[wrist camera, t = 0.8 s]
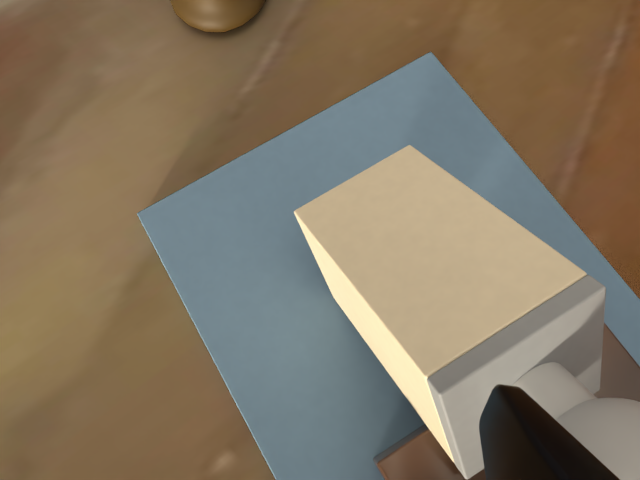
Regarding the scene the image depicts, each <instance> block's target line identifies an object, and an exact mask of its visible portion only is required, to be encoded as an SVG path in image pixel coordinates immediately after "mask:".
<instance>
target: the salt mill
mask: <svg viewBox="0 0 640 480" xmlns="http://www.w3.org/2000/svg"><path fill="white" fill-rule="evenodd" d="M294 214H295V216H296V218H297V220H298V223H299V225H300V227H301V229H302V231H303V233H304V235H305V238H306V240H307V242H308V244H309V246H310V248H311V250H312V253H313V255H314V257H315V259H316V261H317V263H318V265H319V268H320V270H321V272H322V274H323V276H324V278H325V281H326V283H327V285H328V287H329V289H330V291H331V293H332V296H333V298H334V299H335V300H336V302H337V303H338V305H339V306H340V307H341V309H342V310H343V311H344V313H345V314H346V316H347V317H348V318H349V320H350V321H351V322H352V324H353V325H354V327H355V328H356V329H357V331H358V332H359V333H360V335H361V336H362V338H363V339H364V340H365V342H366V343H367V344H368V346H369V347H370V349H371V350H372V351H373V353H374V354H375V355H376V357H377V358H378V360H379V361H380V362H381V364H382V365H383V366H384V368H385V369H386V371H387V372H388V373H389V375H390V376H391V377H392V379H393V380H394V382H395V383H396V384H397V386H398V387H399V388H400V390H401V391H402V393H403V394H404V395H405V397H406V398H407V399H408V401H409V402H410V404H411V405H412V406H413V408H414V409H415V410H416V412H417V413H418V415H419V416H420V417H421V419H422V420H423V421H424V423H425V424H426V426H427V427H428V428H429V430H430V431H431V432H432V434H433V435H434V437H435V438H436V439H437V441H438V442H439V443H440V445H441V446H442V448H443V449H444V450H445V452H446V453H447V454H448V456H449V457H450V459H451V460H452V461H453V462H454V463H455V465H456V467H457V468H458V470H459V471H460V472H461V474H462V475H463V476H464V478H465V479H469V478H471V477H472V476H474V475H475V474H477V473H478V472H480V471H481V470H483V469H484V462H483V454H482V447H481V440H480V433H479V421H480V417H481V414H482V412H483V409H484V407H485V405H486V403H487V400H488V398H489V396H490V394H491V391H492V389H493V388H494V387H495V386H496V385H498V384H504V385H511V386H517V387H520V388H522V389H523V390H524V391H525V392H526V393H527V394H528V395H529V396H530V397H532V398H533V399H534V400H535V401H536V402H537V403H538V404H539V405H540V406H541V407H542V408H543V409H545V410H546V411H547V412H548V413H549V414H550V415H551V416H552V417H553V418H554V419H555V420H556V421H557V422H559V423H560V424H561V425H562V426H563V427H564V428H565V429H566V430H567V431H568V432H569V433H570V434H572V435H573V436H574V437H575V438H576V439H577V440H578V441H579V442H580V443H581V444H582V445H583V446H584V447H586V448H587V449H588V450H589V451H590V452H591V453H592V454H593V455H594V456H595V457H596V458H597V459H599V460H600V461H601V462H602V463H603V464H604V465H605V466H606V467H607V468H608V469H609V470H610V471H611V472H613V473H614V474H615V475H616V476H617V477H618V478H619V479H620V480H640V402H638V401H635V400H630V399H624V398H597V397H595V396H594V395H593V394H594V393H596V392H597V391H599V389H600V378H601V362H602V346H603V330H604V314H605V298H606V287H605V286H604V285H603V284H601V283H600V282H599V281H597V280H596V279H594V278H593V277H592V276H590V275H587V273H586V272H585V271H583V270H582V269H581V268H579V267H578V266H576V265H575V264H574V263H572V262H571V261H570V260H568V259H567V258H565V257H564V256H563V255H561V254H560V253H559V252H557V251H556V250H554V249H553V248H552V247H550V246H549V245H548V244H546V243H545V242H543V241H542V240H541V239H539V238H538V237H536V236H535V235H534V234H532V233H531V232H530V231H528V230H527V229H525V228H524V227H523V226H521V225H520V224H519V223H517V222H516V221H514V220H513V219H512V218H510V217H509V216H507V215H506V214H505V213H503V212H502V211H501V210H499V209H498V208H496V207H495V206H494V205H492V204H491V203H490V202H488V201H487V200H485V199H484V198H483V197H481V196H480V195H478V194H477V193H476V192H474V191H473V190H472V189H470V188H469V187H467V186H466V185H465V184H463V183H462V182H461V181H459V180H458V179H456V178H455V177H454V176H452V175H451V174H450V173H448V172H447V171H445V170H444V169H443V168H441V167H440V166H438V165H437V164H436V163H434V162H433V161H432V160H430V159H429V158H427V157H426V156H425V155H423V154H422V153H421V152H419V151H418V150H416V149H415V148H414V147H412V146H411V145H408V146H406V147H404V148H403V149H401V150H399V151H397V152H396V153H394V154H392V155H390V156H389V157H387V158H385V159H383V160H382V161H380V162H378V163H377V164H375V165H373V166H371V167H370V168H368V169H366V170H364V171H363V172H361V173H359V174H357V175H356V176H354V177H352V178H350V179H349V180H347V181H345V182H343V183H342V184H340V185H338V186H336V187H335V188H333V189H331V190H329V191H328V192H326V193H324V194H322V195H321V196H319V197H317V198H315V199H314V200H312V201H310V202H309V203H307V204H305V205H303V206H302V207H300V208H298V209H296V210H295V211H294Z"/></svg>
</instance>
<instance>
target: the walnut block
mask: <svg viewBox="0 0 640 480" xmlns="http://www.w3.org/2000/svg"><path fill="white" fill-rule="evenodd" d="M593 395H594V396H595V397H597V398H624V399H630V400H635V401H638V402H640V366H639V365H638V364H637V362H636V361H635V360H634V359H633V358H632V356H631V355H630V354H629V353H628V351H627V350H626V349H625V348H624V346H623V345H622V344H621V343H620V341H619V340H618V339H617V338H616V336H615V335H614V334H613V333H612V331H611V330H610V329H609V328H608V326H607V325H606V324H605V323H604V330H603V346H602V362H601V378H600V389H599V391H597V392H596V393H594V394H593ZM373 461H374V463H375V465H376V466H377V468H378V470H379V471H380V473H381V475H382V476H383V478H384V480H486V476H485V469H483V470H481V471H480V472H478V473H477V474H475V475H474V476H472V477H471V478H469V479H465V478H464V476H463V475H462V474H461V472H460V471H459V470H458V468H457V467H456V465H455V463H454V462H453V461H452V460H451V459H450V457H449V456H448V454H447V453H446V452H445V450H444V449H443V448H442V446H441V445H440V443H439V442H438V441H437V439H436V438H435V437H434V435H433V434H432V432H431V431H430V430H429V428H428V427H427V426H426V424H424V425H422V426H421V427H419V428H418V429H416V430H415V431H413V432H412V433H410V434H409V435H407V436H406V437H404V438H403V439H401V440H400V441H398V442H396V443H395V444H393V445H392V446H390V447H389V448H387V449H386V450H384V451H383V452H381V453H380V454H378V455H377V456H375V457H374V458H373Z"/></svg>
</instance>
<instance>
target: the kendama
mask: <svg viewBox="0 0 640 480" xmlns="http://www.w3.org/2000/svg"><path fill="white" fill-rule="evenodd" d="M170 1H171V4H172V6H173V9H174V11H175V13H176V15H178V16H179V17H180V18H181V19H182V20H183V21H184V22H185V23H187V24H188V25H189V26H192V27H194V28H197V29H200V30H202V31H205V32H226V31H229V30H231V29H234V28H237V27H239V26H242V25H243V24H245V23H246V22H247V21H248V20H250V19H251V18H252V17H253V16H255V15H256V14H257V13H258V12H259V10H260V9H261V7H262V6H263V4H264V3H265V1H266V0H170Z"/></svg>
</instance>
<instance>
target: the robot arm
mask: <svg viewBox="0 0 640 480" xmlns="http://www.w3.org/2000/svg"><path fill="white" fill-rule="evenodd" d="M479 433H480V440H481V447H482V454H483V462H484V469H485V476H486V480H620V479H619V478H618V477H617V476H616V475H615V474H614V473H613V472H611V471H610V470H609V469H608V468H607V467H606V466H605V465H604V464H603V463H602V462H601V461H600V460H599V459H597V458H596V457H595V456H594V455H593V454H592V453H591V452H590V451H589V450H588V449H587V448H586V447H584V446H583V445H582V444H581V443H580V442H579V441H578V440H577V439H576V438H575V437H574V436H573V435H572V434H570V433H569V432H568V431H567V430H566V429H565V428H564V427H563V426H562V425H561V424H560V423H559V422H557V421H556V420H555V419H554V418H553V417H552V416H551V415H550V414H549V413H548V412H547V411H546V410H545V409H543V408H542V407H541V406H540V405H539V404H538V403H537V402H536V401H535V400H534V399H533V398H532V397H530V396H529V395H528V394H527V393H526V392H525V391H524V390H523V389H522V388H520V387H517V386H511V385H504V384H498V385H496V386H495V387H494V388H493V389H492V391H491V394H490V396H489V398H488V400H487V403H486V405H485V407H484V409H483V412H482V414H481V417H480V421H479Z"/></svg>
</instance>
